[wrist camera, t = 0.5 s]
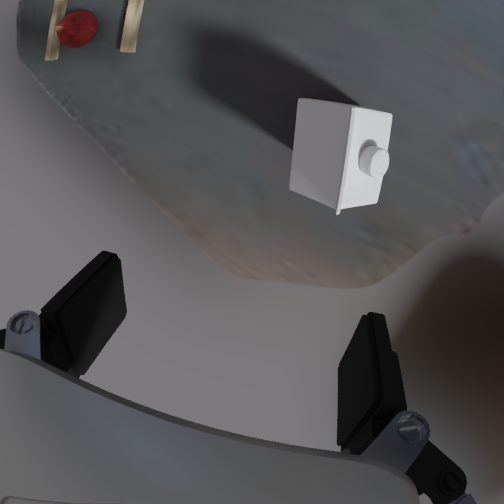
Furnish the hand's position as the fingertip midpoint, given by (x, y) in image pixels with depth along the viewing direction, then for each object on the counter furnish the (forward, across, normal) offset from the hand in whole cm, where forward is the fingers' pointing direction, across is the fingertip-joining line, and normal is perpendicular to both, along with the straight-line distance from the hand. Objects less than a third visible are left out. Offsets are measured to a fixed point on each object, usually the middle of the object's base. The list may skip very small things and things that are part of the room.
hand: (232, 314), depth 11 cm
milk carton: (+30, -4, -4) cm, 31 cm away
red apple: (+30, +31, -16) cm, 46 cm away
